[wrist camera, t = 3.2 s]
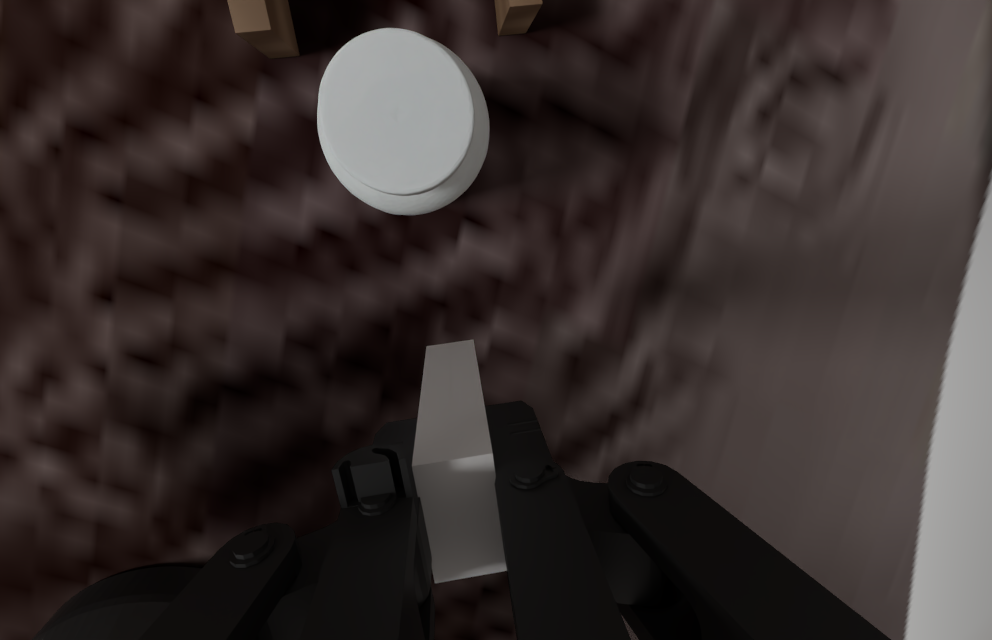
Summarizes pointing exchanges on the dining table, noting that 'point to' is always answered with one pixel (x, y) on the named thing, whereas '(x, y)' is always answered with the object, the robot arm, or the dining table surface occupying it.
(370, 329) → the dining table surface
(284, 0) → the corridor
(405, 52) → the pill bottle
